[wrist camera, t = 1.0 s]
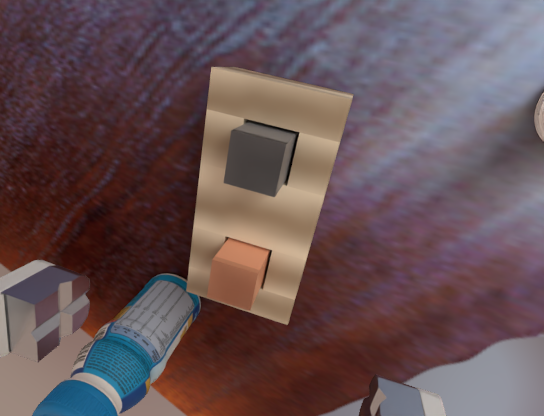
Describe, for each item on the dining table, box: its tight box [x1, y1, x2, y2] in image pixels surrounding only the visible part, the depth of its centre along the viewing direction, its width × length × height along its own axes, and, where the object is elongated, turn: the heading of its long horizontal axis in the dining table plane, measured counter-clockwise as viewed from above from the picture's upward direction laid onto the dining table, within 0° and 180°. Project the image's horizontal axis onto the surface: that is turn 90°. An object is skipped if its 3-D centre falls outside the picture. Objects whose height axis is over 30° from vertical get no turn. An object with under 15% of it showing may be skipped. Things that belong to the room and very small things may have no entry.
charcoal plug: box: [224, 120, 298, 197], centre depth 29 cm, size 4×4×6 cm
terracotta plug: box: [207, 237, 271, 311], centre depth 34 cm, size 4×4×6 cm
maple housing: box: [186, 67, 353, 325], centre depth 36 cm, size 24×12×6 cm, turn 169°
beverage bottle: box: [32, 273, 201, 416], centre depth 39 cm, size 8×8×20 cm
